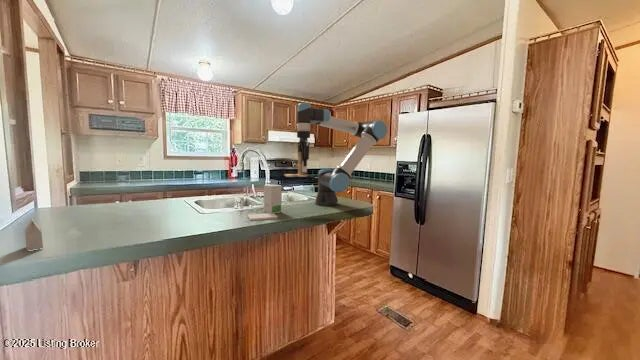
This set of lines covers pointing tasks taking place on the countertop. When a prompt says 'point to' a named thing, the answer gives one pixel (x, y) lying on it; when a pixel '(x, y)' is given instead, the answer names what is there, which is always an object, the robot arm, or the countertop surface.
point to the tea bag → (33, 236)
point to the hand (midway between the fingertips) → (302, 171)
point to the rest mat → (262, 216)
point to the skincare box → (272, 198)
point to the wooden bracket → (300, 173)
